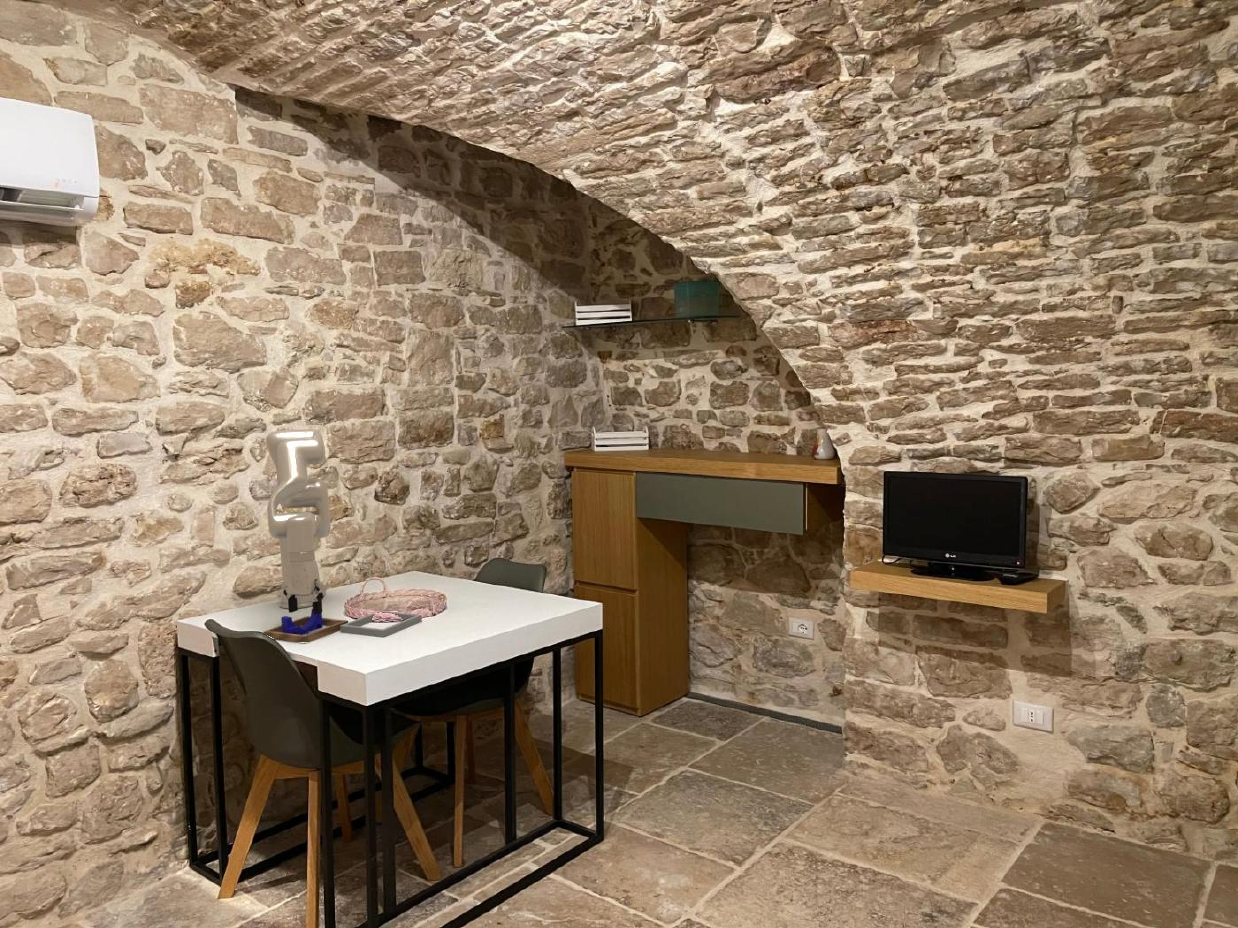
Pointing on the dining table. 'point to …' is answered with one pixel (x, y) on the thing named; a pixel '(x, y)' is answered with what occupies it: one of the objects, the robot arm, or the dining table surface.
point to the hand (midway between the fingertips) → (305, 612)
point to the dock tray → (355, 629)
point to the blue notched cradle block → (311, 625)
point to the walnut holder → (333, 627)
